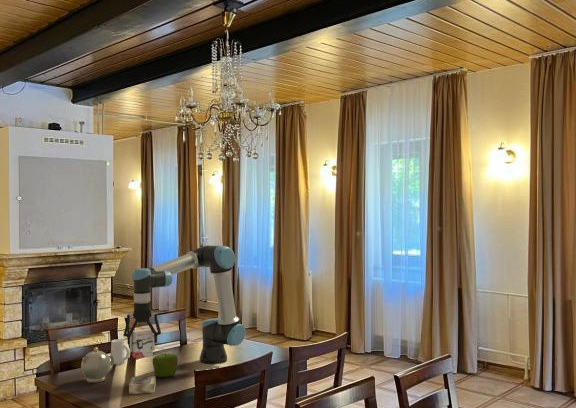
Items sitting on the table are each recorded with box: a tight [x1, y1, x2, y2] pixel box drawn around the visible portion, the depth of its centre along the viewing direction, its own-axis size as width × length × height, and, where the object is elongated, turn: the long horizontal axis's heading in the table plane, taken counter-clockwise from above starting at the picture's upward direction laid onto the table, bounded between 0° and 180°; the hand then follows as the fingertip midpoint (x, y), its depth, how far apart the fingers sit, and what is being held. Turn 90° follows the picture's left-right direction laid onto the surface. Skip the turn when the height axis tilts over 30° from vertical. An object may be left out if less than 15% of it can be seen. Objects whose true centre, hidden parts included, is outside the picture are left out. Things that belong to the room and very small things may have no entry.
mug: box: [110, 338, 131, 365], centre depth 315 cm, size 8×12×12 cm
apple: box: [152, 353, 179, 379], centre depth 287 cm, size 12×12×11 cm
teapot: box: [80, 346, 115, 384], centre depth 281 cm, size 18×14×16 cm
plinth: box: [128, 375, 157, 395], centre depth 265 cm, size 11×13×4 cm
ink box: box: [131, 328, 154, 359], centre depth 266 cm, size 8×5×12 cm, turn 123°
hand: (142, 350), depth 266 cm, fingers closed on ink box, 9 cm apart
